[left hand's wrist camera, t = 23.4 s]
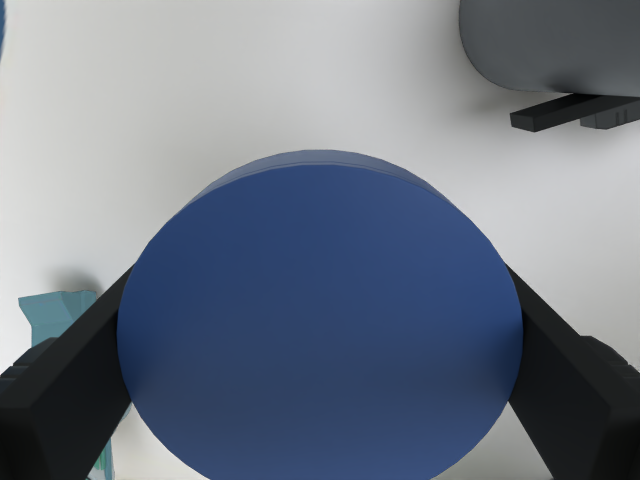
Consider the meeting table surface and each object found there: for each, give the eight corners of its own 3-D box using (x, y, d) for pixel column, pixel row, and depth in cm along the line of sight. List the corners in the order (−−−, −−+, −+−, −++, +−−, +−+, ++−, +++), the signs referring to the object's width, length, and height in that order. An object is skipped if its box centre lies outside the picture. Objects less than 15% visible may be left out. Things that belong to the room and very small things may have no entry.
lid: (124, 405, 14) (90, 460, 12) (188, 94, 10) (156, 96, 8) (410, 475, 15) (424, 537, 13) (555, 217, 11) (605, 246, 9)
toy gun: (110, 537, 34) (8, 622, 24) (103, 303, 38) (14, 295, 28) (153, 532, 33) (67, 616, 24) (141, 297, 38) (64, 287, 28)
